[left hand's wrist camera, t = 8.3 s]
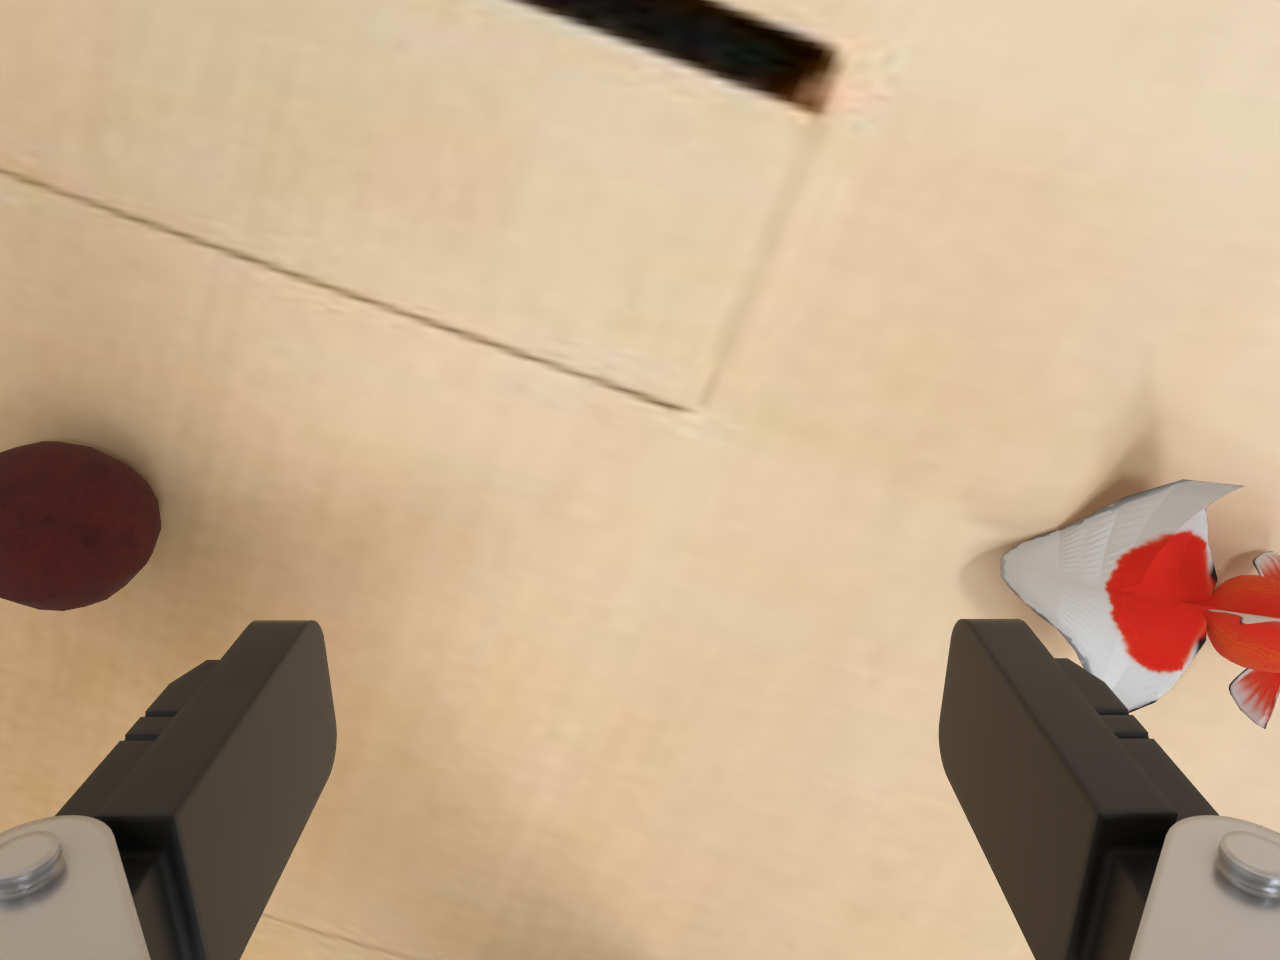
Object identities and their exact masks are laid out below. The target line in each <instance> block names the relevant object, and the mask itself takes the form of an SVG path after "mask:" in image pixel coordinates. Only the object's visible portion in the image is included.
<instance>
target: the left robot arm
mask: <svg viewBox="0 0 1280 960" xmlns="http://www.w3.org/2000/svg"><path fill="white" fill-rule="evenodd" d="M125 736H126V737H125V741H120V742H119V743H118V744H117V745H116V746H115V747H114V749H113V750H112V751H111V752H110V753H109V754H108V755H107V757H106V758H105V759H104V760H103V761H102V762H101V764H100V765H99V766H98V767H97V768H96V769H95V770H94V772H93V773H92V774H91V775H90V776H89V777H88V779H87V780H86V781H85V782H84V783H83V784H82V785H81V787H80V788H79V789H78V790H77V791H76V792H75V794H74V795H73V796H72V797H71V798H70V799H69V800H68V802H67V803H66V804H65V805H64V806H63V807H62V808H61V810H60V811H59V812H58V813H57V814H56V815H55V817H48V818H44V819H40V820H35V821H32V822H29V823H25V824H22V825H19V826H17V827H14V828H12V829H9V830H7V831H4V832H2V833H0V960H240V958H241V956H242V954H243V952H244V949H245V947H246V945H247V943H248V941H249V939H250V937H251V935H252V933H253V931H254V929H255V927H256V925H257V923H258V921H259V919H260V917H261V915H262V913H263V911H264V909H265V907H266V905H267V903H268V900H269V898H270V896H271V894H272V892H273V890H274V888H275V886H276V884H277V882H278V880H279V878H280V876H281V874H282V872H283V870H284V868H285V866H286V864H287V862H288V860H289V858H290V856H291V853H292V851H293V849H294V847H295V845H296V843H297V841H298V839H299V837H300V835H301V833H302V831H303V829H304V827H305V825H306V823H307V821H308V819H309V817H310V815H311V813H312V811H313V809H314V807H315V804H316V802H317V800H318V798H319V796H320V794H321V792H322V790H323V788H324V786H325V784H326V782H327V780H328V778H329V775H330V773H331V770H332V766H333V762H334V757H335V751H336V739H337V730H336V720H335V713H334V706H333V698H332V691H331V684H330V677H329V670H328V663H327V656H326V649H325V642H324V636H323V632H322V629H321V627H320V625H319V624H318V623H317V622H316V621H253V622H252V623H250V624H249V625H248V626H247V628H246V629H245V630H244V631H243V632H242V634H241V635H240V636H239V637H238V639H237V640H236V641H235V642H234V644H233V645H232V646H231V647H230V649H229V650H228V651H227V652H226V653H225V655H224V656H223V657H222V658H221V660H206V661H205V662H203V663H202V664H200V665H199V666H197V667H195V668H194V669H192V670H191V671H189V672H188V673H186V674H184V675H183V676H181V677H180V678H178V679H176V680H175V681H173V682H172V683H170V684H169V685H168V686H167V687H166V689H165V690H164V691H163V692H162V693H161V694H160V696H159V697H158V698H157V699H156V700H155V701H154V702H153V704H152V705H151V706H150V707H149V708H148V709H147V711H146V715H145V717H140V719H139V720H138V721H137V722H136V723H135V724H134V726H133V727H132V728H131V729H130V730H129V731H128V732H127V734H126V735H125ZM939 746H940V753H941V759H942V763H943V767H944V770H945V773H946V775H947V777H948V780H949V782H950V784H951V786H952V788H953V790H954V792H955V794H956V796H957V798H958V800H959V802H960V804H961V806H962V808H963V811H964V813H965V815H966V817H967V819H968V821H969V823H970V825H971V827H972V829H973V831H974V833H975V835H976V837H977V839H978V842H979V844H980V846H981V848H982V850H983V852H984V854H985V856H986V858H987V860H988V862H989V864H990V866H991V868H992V871H993V873H994V875H995V877H996V879H997V881H998V883H999V885H1000V887H1001V889H1002V891H1003V893H1004V895H1005V897H1006V899H1007V902H1008V904H1009V906H1010V908H1011V910H1012V912H1013V914H1014V916H1015V918H1016V920H1017V922H1018V924H1019V926H1020V928H1021V930H1022V933H1023V935H1024V937H1025V939H1026V941H1027V943H1028V945H1029V947H1030V949H1031V951H1032V953H1033V955H1034V957H1035V959H1036V960H1280V833H1278V832H1276V831H1273V830H1271V829H1268V828H1266V827H1263V826H1261V825H1258V824H1255V823H1251V822H1248V821H1245V820H1240V819H1236V818H1232V817H1225V816H1219V815H1218V813H1217V812H1216V811H1215V810H1214V809H1213V808H1212V806H1211V805H1210V804H1209V803H1208V802H1207V801H1206V799H1205V798H1204V797H1203V796H1202V795H1201V794H1200V792H1199V791H1198V790H1197V789H1196V788H1195V787H1194V785H1193V784H1192V783H1191V782H1190V781H1189V780H1188V778H1187V777H1186V776H1185V775H1184V774H1183V773H1182V772H1181V770H1180V769H1179V768H1178V767H1177V766H1176V765H1175V763H1174V762H1173V761H1172V760H1171V759H1170V758H1169V756H1168V755H1167V754H1166V753H1165V752H1164V751H1163V749H1162V748H1161V747H1160V746H1159V745H1158V744H1157V742H1156V741H1155V740H1154V739H1149V737H1148V732H1147V731H1146V730H1145V728H1144V727H1143V726H1142V725H1141V724H1140V723H1139V721H1138V720H1137V719H1136V718H1135V717H1134V716H1133V715H1129V714H1128V709H1127V708H1126V706H1125V705H1124V704H1123V703H1122V702H1121V701H1120V699H1119V698H1118V697H1117V696H1116V695H1115V694H1114V692H1113V691H1112V690H1111V689H1110V688H1109V687H1108V685H1107V684H1106V683H1105V682H1104V681H1102V680H1101V679H1099V678H1097V677H1096V676H1094V675H1093V674H1091V673H1090V672H1088V671H1086V670H1085V669H1083V668H1082V667H1080V666H1079V665H1077V664H1075V663H1074V662H1072V661H1071V660H1069V659H1068V658H1053V656H1052V655H1051V654H1050V653H1049V651H1048V650H1047V649H1046V648H1045V646H1044V645H1043V644H1042V643H1041V641H1040V640H1039V639H1038V638H1037V636H1036V635H1035V634H1034V633H1033V631H1032V630H1031V629H1030V628H1029V626H1028V625H1027V624H1026V623H1025V622H1024V621H1022V620H1020V619H960V620H959V621H957V623H956V624H955V626H954V628H953V632H952V636H951V642H950V649H949V656H948V664H947V671H946V678H945V685H944V692H943V700H942V707H941V714H940V722H939Z"/></svg>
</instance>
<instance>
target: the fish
mask: <svg viewBox="0 0 1280 960" xmlns="http://www.w3.org/2000/svg"><path fill="white" fill-rule="evenodd" d="M1241 487H1244V486H1240V485H1231V484H1221V483H1212V482H1203V481H1193V480H1184V479H1183V480H1180V481H1176V482H1173V483H1170V484H1166V485H1163V486H1160V487H1157V488H1153V489H1150V490H1147V491H1143V492H1140V493H1137V494H1134V495H1130V496H1127V497H1125V498H1123V499H1121V500H1118V501H1116V502H1114V503H1112V504H1110V505H1108V506H1106V507H1104V508H1102V509H1100V510H1098V511H1096V512H1094V513H1092V514H1090V515H1088V516H1086V517H1084V518H1082V519H1080V520H1078V521H1076V522H1074V523H1072V524H1070V525H1068V526H1066V527H1064V528H1062V529H1060V530H1057V531H1053V532H1050V533H1047V534H1043V535H1040V536H1037V537H1035V538H1033V539H1030V540H1028V541H1025V542H1023V543H1021V544H1019V545H1017V546H1015V547H1014V548H1012V549H1010V550H1008V551H1007V552H1006V553H1005V554H1004V555H1003V556H1002V557H1001V577H1002V578H1003V580H1004V581H1005V582H1006V584H1007V585H1008V586H1009V588H1010V589H1011V590H1012V591H1013V592H1014V593H1015V594H1016V595H1017V596H1018V597H1019V598H1020V599H1021V600H1022V601H1023V602H1025V603H1026V604H1027V605H1028V606H1029V607H1030V608H1031V609H1033V610H1034V611H1035V612H1036V613H1037V614H1038V615H1039V616H1041V617H1042V618H1043V619H1045V620H1046V621H1047V622H1048V623H1050V624H1051V625H1052V626H1054V627H1055V628H1056V629H1058V630H1059V631H1060V633H1061V634H1062V635H1063V636H1064V638H1065V639H1066V640H1067V641H1068V642H1069V644H1070V645H1071V646H1072V647H1073V648H1074V650H1075V652H1076V654H1077V656H1078V658H1079V660H1080V662H1081V664H1082V665H1083V667H1084V669H1085V670H1086V671H1088V672H1090V673H1091V674H1093V675H1094V676H1096V677H1097V678H1099V679H1101V680H1102V681H1104V682H1105V683H1106V684H1107V685H1108V687H1109V688H1110V689H1111V690H1112V691H1113V692H1114V694H1115V695H1116V696H1117V697H1118V698H1119V699H1120V701H1121V702H1122V703H1123V704H1124V705H1125V706H1126V708H1127V709H1128V713H1130V712H1133V711H1135V710H1137V709H1140V708H1142V707H1145V706H1147V705H1150V704H1152V703H1154V702H1156V701H1157V700H1158V699H1159V698H1160V697H1161V696H1163V695H1164V694H1165V693H1166V692H1167V691H1168V690H1169V689H1170V688H1171V687H1172V686H1173V685H1174V684H1175V682H1176V681H1177V680H1178V678H1179V677H1180V676H1181V675H1182V673H1183V672H1184V671H1185V669H1186V668H1187V666H1188V665H1189V664H1190V662H1191V661H1192V660H1193V658H1194V657H1195V655H1196V654H1197V653H1198V651H1199V650H1200V648H1201V647H1202V645H1203V644H1204V643H1205V641H1206V634H1207V633H1208V637H1209V639H1210V641H1211V643H1212V645H1213V646H1214V648H1215V649H1216V651H1217V652H1218V653H1219V654H1220V655H1222V656H1223V657H1224V658H1226V659H1228V660H1229V661H1231V662H1233V663H1235V664H1237V665H1240V666H1242V667H1245V668H1247V669H1245V670H1244V671H1243V672H1242V673H1241V674H1239V675H1238V676H1237V677H1236V678H1235V679H1234V680H1233V681H1232V682H1231V684H1230V685H1229V691H1230V694H1231V695H1232V697H1233V699H1234V700H1235V702H1236V704H1237V705H1238V707H1239V708H1240V710H1241V711H1242V712H1244V713H1245V714H1246V715H1247V716H1248V717H1249V718H1250V719H1251V720H1252V721H1253V722H1255V723H1256V724H1257V725H1259V726H1261V727H1263V728H1264V729H1266V725H1267V723H1268V721H1269V719H1270V717H1271V714H1272V712H1273V709H1274V707H1275V703H1276V699H1277V697H1278V695H1279V692H1280V555H1278V554H1277V553H1275V552H1273V551H1270V552H1264V553H1262V554H1260V555H1259V556H1257V557H1256V558H1255V559H1254V560H1253V564H1254V566H1255V567H1256V569H1257V571H1258V573H1259V575H1260V576H1257V575H1244V576H1238V577H1234V578H1232V579H1229V580H1227V581H1225V582H1224V583H1222V584H1221V585H1220V586H1218V587H1217V588H1216V589H1215V585H1216V582H1217V576H1216V572H1215V568H1214V564H1213V560H1212V556H1211V552H1210V548H1209V544H1208V521H1207V512H1206V507H1207V506H1208V505H1209V504H1211V503H1212V502H1214V501H1215V500H1217V499H1219V498H1220V497H1222V496H1224V495H1226V494H1227V493H1229V492H1231V491H1233V490H1236V489H1238V488H1241ZM1214 589H1215V590H1214Z"/></svg>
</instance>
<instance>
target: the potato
mask: <svg viewBox="0 0 1280 960" xmlns="http://www.w3.org/2000/svg"><path fill="white" fill-rule="evenodd" d="M160 530H161V520H160V513H159V505H158V500H157V498H156V497H155V495H154V493H153V491H152V490H151V488H150V486H149V485H148V483H147V482H146V481H145V480H144V479H143V478H142V477H141V476H140V475H139V474H137V473H136V472H135V471H134V470H133V469H132V468H131V467H130V466H128V465H126V464H124V463H122V462H120V461H118V460H116V459H114V458H112V457H109V456H107V455H105V454H103V453H101V452H99V451H97V450H95V449H93V448H91V447H86V446H80V445H74V444H69V443H63V442H39V443H34V444H29V445H25V446H20V447H16V448H13V449H10V450H7V451H4V452H1V453H0V598H3V599H6V600H9V601H13V602H16V603H19V604H22V605H26V606H29V607H33V608H36V609H42V610H58V611H65V610H70V609H75V608H80V607H85V606H88V605H91V604H94V603H97V602H100V601H103V600H106V599H108V598H109V597H110V596H112V595H113V594H114V593H116V592H117V591H119V590H120V589H121V588H123V587H124V586H125V585H126V584H127V583H128V582H129V581H130V580H131V579H132V578H133V577H134V576H135V575H136V574H137V573H138V572H139V571H140V570H141V569H142V568H143V567H144V566H145V565H146V564H147V562H148V560H149V558H150V557H151V555H152V553H153V550H154V547H155V544H156V541H157V539H158V536H159V533H160Z"/></svg>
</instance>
